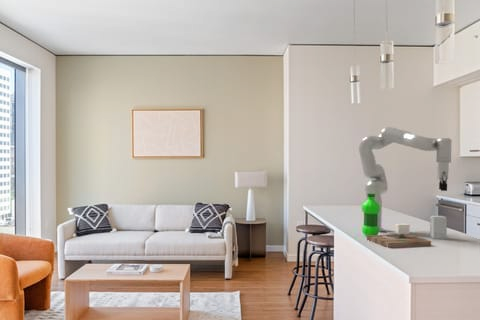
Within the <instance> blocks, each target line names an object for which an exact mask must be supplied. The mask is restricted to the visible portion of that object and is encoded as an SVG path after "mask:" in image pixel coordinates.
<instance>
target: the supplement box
mask: <svg viewBox="0 0 480 320" xmlns="http://www.w3.org/2000/svg"><path fill="white" fill-rule="evenodd" d="M429 217H430V220H429V225H430V226H429V236H430V238H432V239H436V240H447V238H448V236H447V232H448V231H447V230H448V229H447V228H448V227H447V226H448V224H447V223H448V217H446V216H444V215H430V216H429Z"/></svg>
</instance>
